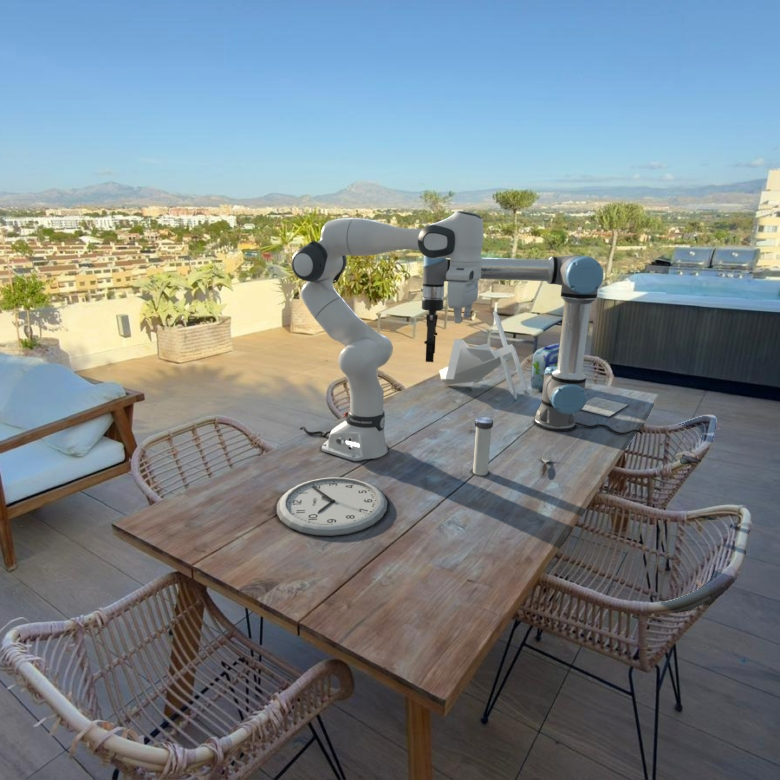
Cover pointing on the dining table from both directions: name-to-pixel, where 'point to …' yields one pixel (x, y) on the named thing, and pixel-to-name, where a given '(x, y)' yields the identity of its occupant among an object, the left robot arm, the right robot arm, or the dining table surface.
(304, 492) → the wall clock
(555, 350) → the lunch box
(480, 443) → the off-white tall cylinder
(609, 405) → the invitation card
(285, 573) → the dining table surface
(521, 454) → the dining table surface
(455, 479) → the dining table surface
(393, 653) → the dining table surface
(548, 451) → the fork
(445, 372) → the white plastic object
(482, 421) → the lid
